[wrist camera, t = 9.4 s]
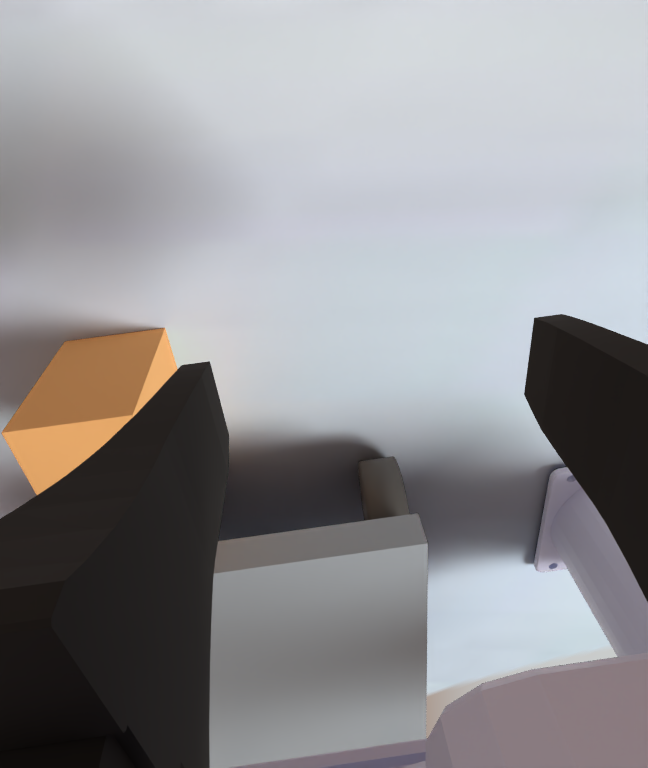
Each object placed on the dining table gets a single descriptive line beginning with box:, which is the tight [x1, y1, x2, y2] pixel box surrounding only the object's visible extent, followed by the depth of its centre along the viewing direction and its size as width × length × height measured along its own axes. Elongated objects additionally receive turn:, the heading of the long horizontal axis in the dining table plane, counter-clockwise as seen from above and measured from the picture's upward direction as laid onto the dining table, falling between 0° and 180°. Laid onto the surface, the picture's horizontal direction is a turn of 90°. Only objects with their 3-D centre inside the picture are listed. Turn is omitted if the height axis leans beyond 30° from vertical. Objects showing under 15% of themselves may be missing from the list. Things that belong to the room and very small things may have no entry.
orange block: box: [2, 328, 178, 495], centre depth 20 cm, size 4×7×6 cm, turn 6°
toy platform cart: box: [209, 457, 428, 768], centre depth 25 cm, size 12×19×12 cm, turn 6°
